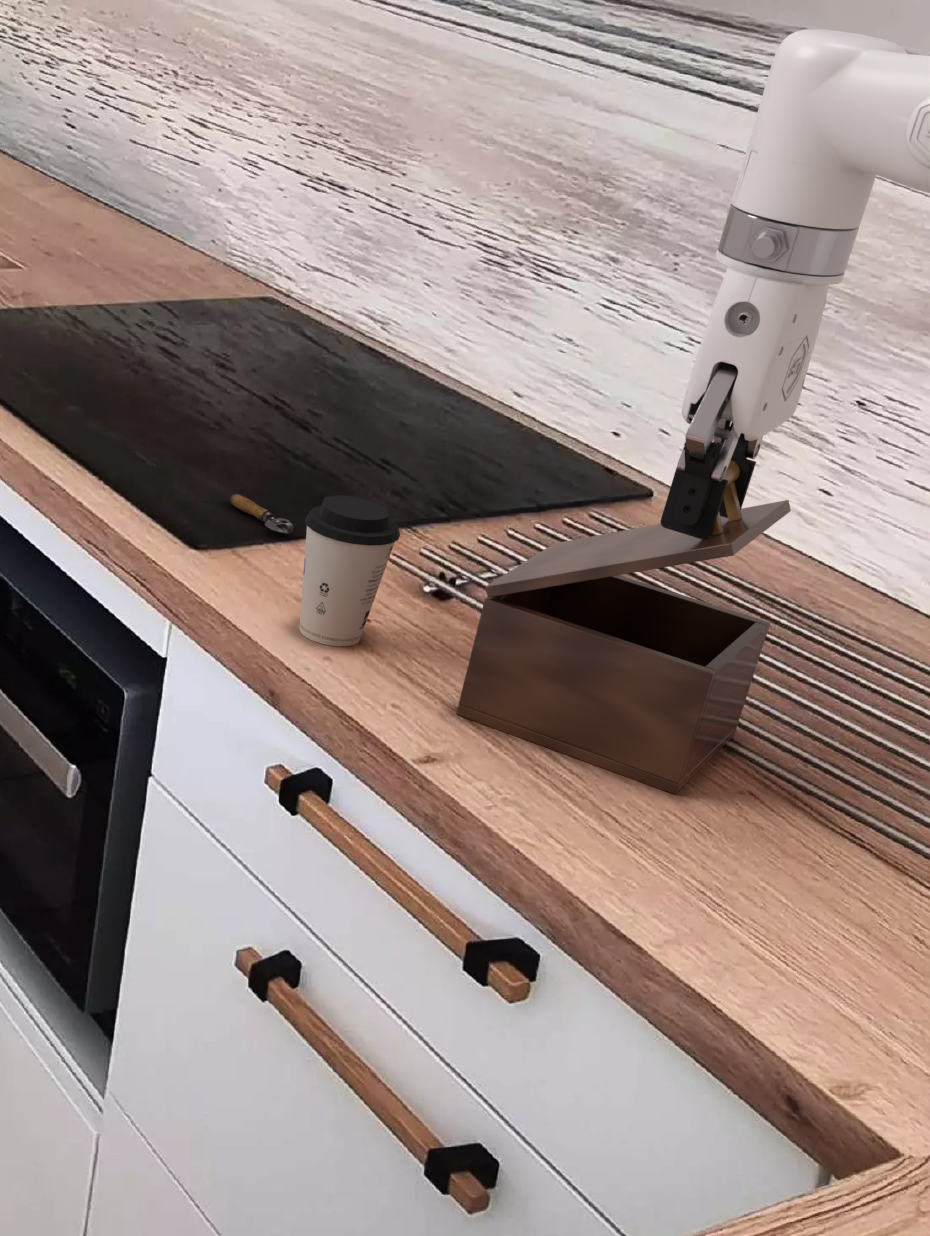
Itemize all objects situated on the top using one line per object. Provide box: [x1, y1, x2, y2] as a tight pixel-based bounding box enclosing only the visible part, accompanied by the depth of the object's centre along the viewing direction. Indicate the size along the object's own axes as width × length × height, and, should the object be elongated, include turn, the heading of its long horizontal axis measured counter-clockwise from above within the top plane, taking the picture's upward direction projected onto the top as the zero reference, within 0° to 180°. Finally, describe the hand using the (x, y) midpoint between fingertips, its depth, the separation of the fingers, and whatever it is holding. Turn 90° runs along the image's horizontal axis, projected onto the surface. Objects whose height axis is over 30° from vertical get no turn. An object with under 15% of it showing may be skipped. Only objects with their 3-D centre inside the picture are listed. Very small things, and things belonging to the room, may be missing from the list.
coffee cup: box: [298, 495, 401, 647], centre depth 147 cm, size 7×7×10 cm
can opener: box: [229, 493, 294, 535], centre depth 169 cm, size 9×2×1 cm, turn 20°
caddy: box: [456, 575, 771, 795], centre depth 137 cm, size 16×13×9 cm
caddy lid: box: [484, 460, 792, 597], centre depth 133 cm, size 16×13×5 cm
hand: (699, 519), depth 130 cm, fingers open, 5 cm apart
